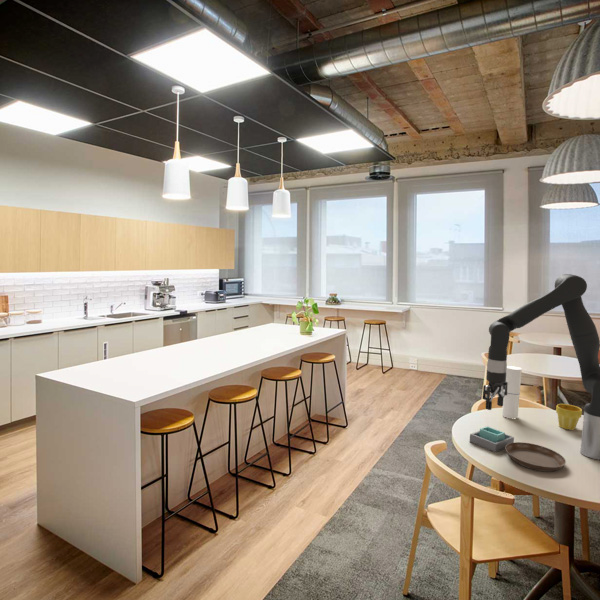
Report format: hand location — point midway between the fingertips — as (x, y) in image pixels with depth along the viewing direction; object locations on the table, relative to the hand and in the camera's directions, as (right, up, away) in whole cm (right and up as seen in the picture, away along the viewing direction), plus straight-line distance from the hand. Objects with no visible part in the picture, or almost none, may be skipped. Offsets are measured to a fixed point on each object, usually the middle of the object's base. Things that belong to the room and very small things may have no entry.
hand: (494, 407), depth 180 cm
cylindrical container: (+24, -14, +35) cm, 44 cm away
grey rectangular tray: (-1, -16, +1) cm, 16 cm away
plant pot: (+45, -15, +23) cm, 53 cm away
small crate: (-1, -15, +1) cm, 15 cm away
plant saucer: (+9, -18, -13) cm, 24 cm away
